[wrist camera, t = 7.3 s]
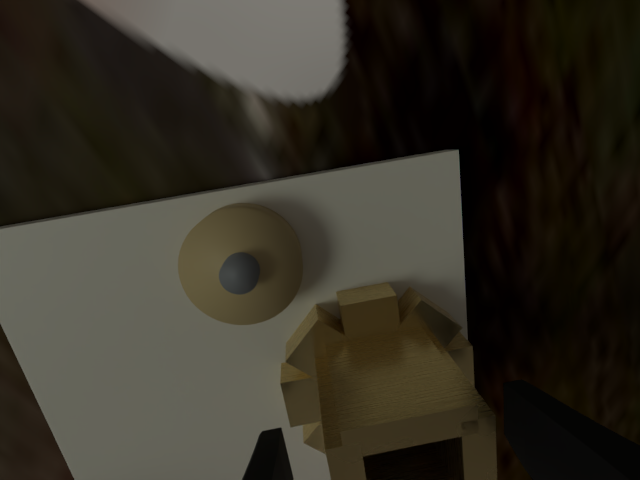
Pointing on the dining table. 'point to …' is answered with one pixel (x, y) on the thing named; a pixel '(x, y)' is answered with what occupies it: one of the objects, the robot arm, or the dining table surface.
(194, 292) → the plate
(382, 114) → the dining table surface
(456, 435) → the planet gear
